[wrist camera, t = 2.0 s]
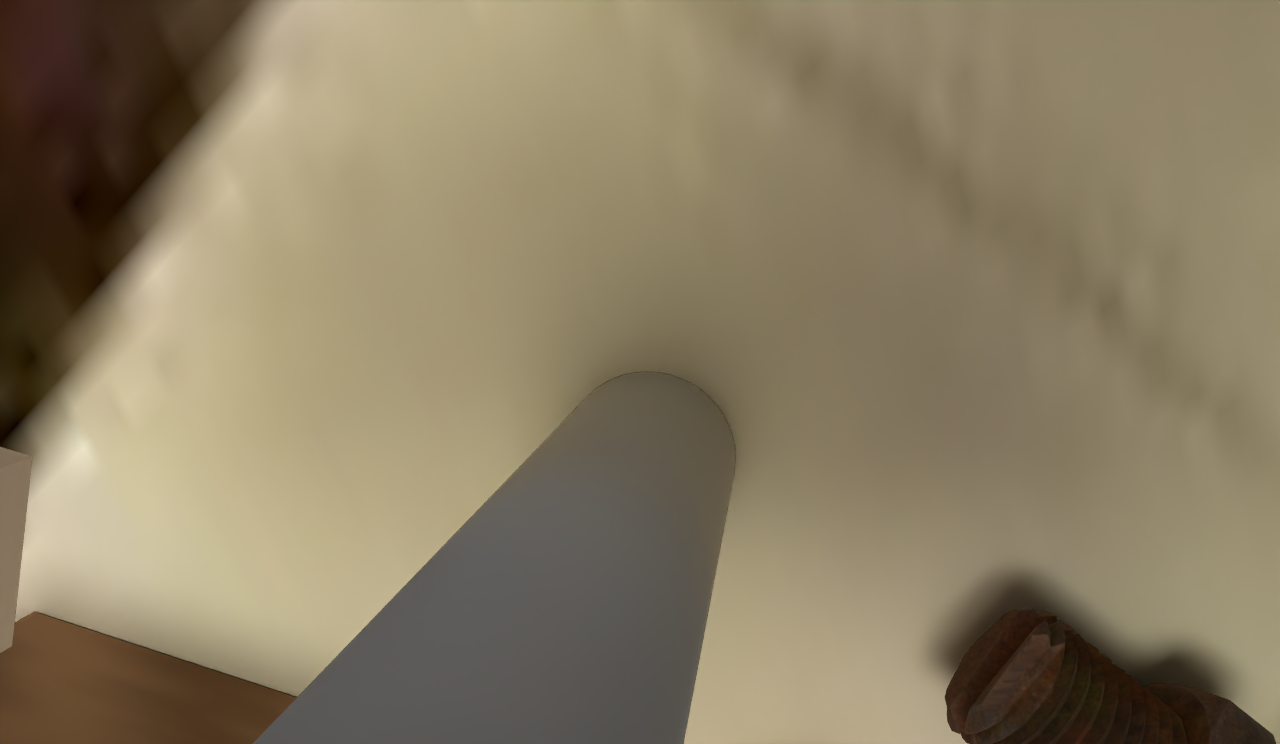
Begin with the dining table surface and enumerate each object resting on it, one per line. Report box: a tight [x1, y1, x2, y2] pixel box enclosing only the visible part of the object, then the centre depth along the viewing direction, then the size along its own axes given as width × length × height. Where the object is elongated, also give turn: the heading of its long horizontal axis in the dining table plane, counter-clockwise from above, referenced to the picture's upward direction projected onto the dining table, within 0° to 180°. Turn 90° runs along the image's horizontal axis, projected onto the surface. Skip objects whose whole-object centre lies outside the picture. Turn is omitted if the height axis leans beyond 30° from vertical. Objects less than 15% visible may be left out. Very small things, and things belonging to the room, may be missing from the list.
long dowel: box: [253, 372, 736, 744], centre depth 15 cm, size 4×4×14 cm
